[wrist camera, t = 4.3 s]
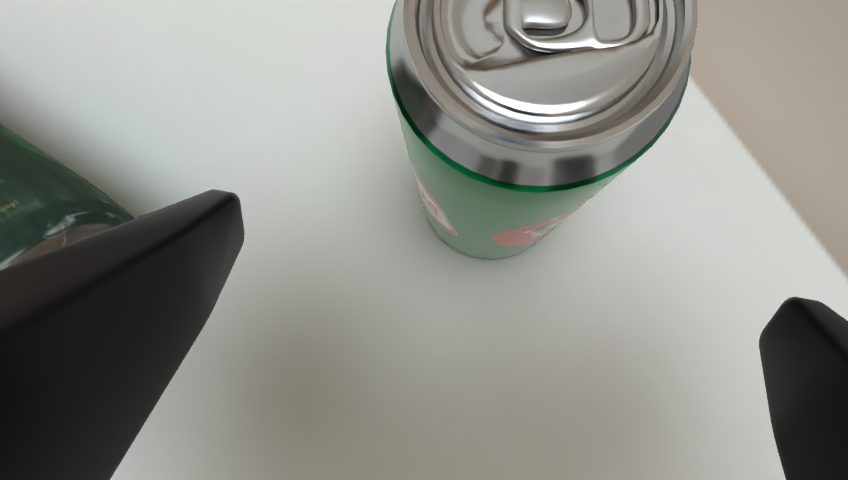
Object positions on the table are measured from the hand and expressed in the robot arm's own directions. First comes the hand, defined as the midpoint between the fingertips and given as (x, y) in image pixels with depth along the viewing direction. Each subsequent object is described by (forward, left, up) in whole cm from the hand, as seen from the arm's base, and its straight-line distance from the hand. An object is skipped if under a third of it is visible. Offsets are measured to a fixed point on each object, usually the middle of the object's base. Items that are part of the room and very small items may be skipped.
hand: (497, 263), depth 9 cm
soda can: (0, +4, -11) cm, 11 cm away
